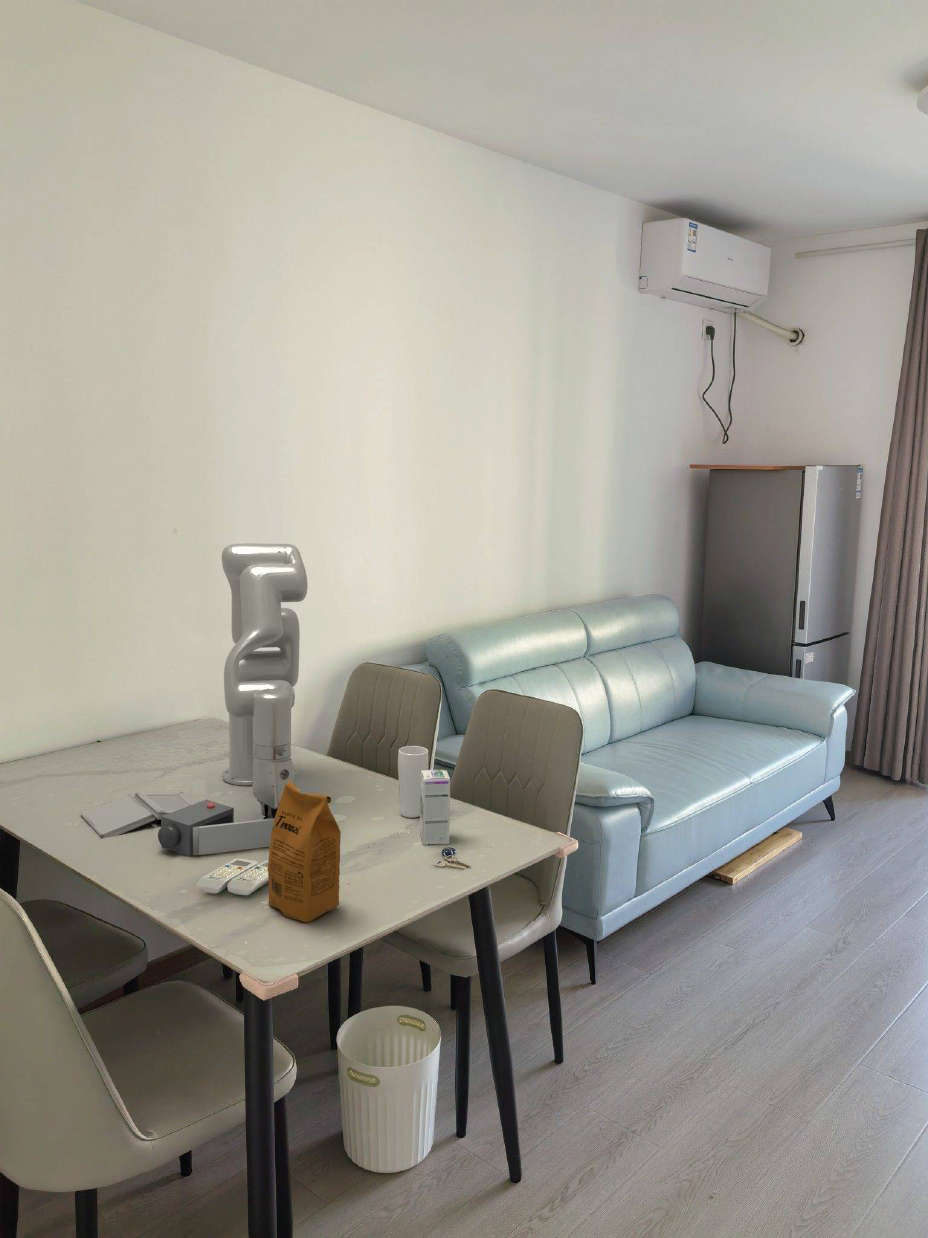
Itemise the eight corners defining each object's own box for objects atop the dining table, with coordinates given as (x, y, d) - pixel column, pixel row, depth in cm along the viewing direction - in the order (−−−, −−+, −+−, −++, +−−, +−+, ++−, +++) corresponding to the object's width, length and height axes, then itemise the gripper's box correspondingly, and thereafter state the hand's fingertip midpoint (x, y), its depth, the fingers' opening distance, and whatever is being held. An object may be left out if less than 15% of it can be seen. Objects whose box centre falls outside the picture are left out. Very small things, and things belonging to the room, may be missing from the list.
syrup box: (449, 844, 199) (452, 777, 196) (421, 845, 198) (423, 778, 195) (445, 834, 204) (448, 769, 202) (418, 834, 203) (420, 769, 201)
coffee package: (303, 887, 177) (304, 773, 173) (347, 909, 169) (349, 790, 165) (258, 904, 170) (258, 785, 166) (302, 928, 161) (302, 804, 158)
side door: (290, 841, 196) (291, 816, 196) (292, 844, 195) (292, 818, 194) (192, 853, 189) (192, 827, 188) (193, 856, 187) (193, 830, 187)
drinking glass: (433, 814, 215) (435, 750, 212) (411, 822, 210) (413, 756, 208) (412, 806, 219) (413, 743, 217) (390, 814, 215) (391, 749, 212)
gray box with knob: (206, 828, 202) (206, 796, 201) (234, 837, 198) (233, 805, 197) (153, 850, 191) (153, 816, 190) (181, 860, 187) (181, 825, 185)
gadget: (101, 842, 196) (101, 824, 195) (79, 819, 207) (79, 802, 207) (207, 819, 209) (207, 803, 209) (181, 799, 221) (181, 783, 220)
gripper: (307, 756, 191) (307, 842, 194) (269, 737, 202) (269, 819, 205) (274, 763, 186) (274, 851, 190) (237, 743, 197) (238, 827, 201)
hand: (272, 834), depth 198 cm, fingers closed
